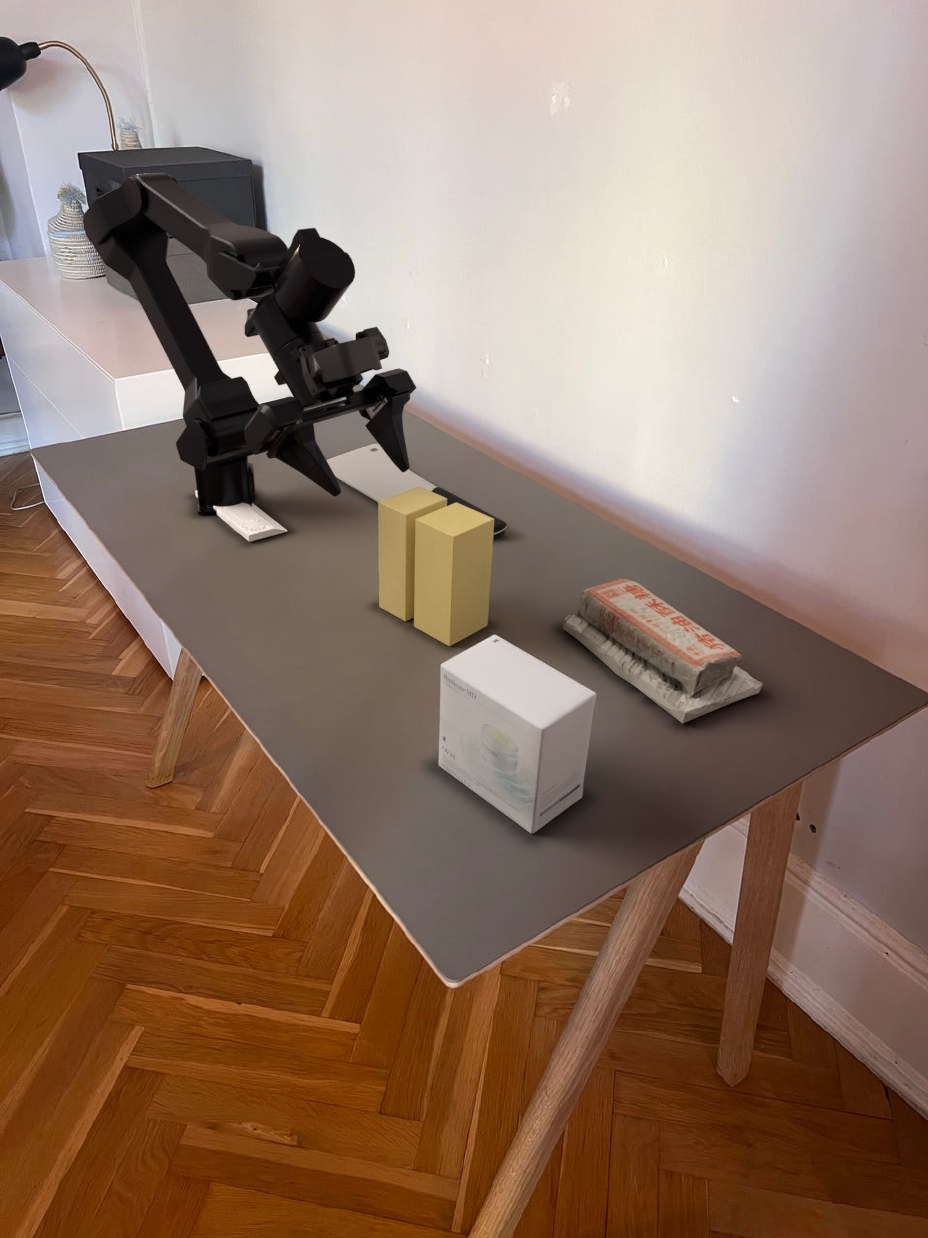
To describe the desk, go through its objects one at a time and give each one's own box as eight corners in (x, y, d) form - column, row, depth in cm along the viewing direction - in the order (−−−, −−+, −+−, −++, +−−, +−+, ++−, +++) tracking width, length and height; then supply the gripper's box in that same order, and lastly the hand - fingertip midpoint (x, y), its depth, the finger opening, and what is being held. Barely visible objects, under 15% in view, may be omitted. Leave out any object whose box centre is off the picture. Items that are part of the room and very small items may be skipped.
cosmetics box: (434, 768, 74) (437, 661, 68) (489, 734, 78) (496, 631, 72) (530, 838, 68) (542, 727, 62) (585, 797, 71) (601, 690, 66)
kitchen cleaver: (315, 458, 125) (376, 436, 130) (317, 469, 126) (377, 447, 131) (451, 546, 105) (518, 517, 109) (452, 559, 106) (518, 529, 110)
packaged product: (563, 588, 90) (639, 566, 94) (558, 629, 92) (633, 606, 97) (692, 683, 77) (773, 651, 82) (682, 728, 79) (761, 695, 84)
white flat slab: (232, 488, 118) (232, 480, 117) (287, 532, 108) (287, 524, 108) (195, 496, 115) (194, 488, 115) (248, 542, 105) (247, 534, 105)
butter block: (413, 626, 92) (415, 518, 85) (452, 607, 95) (456, 501, 89) (449, 646, 89) (453, 536, 82) (487, 625, 92) (494, 518, 86)
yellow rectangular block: (378, 607, 95) (377, 501, 88) (417, 588, 98) (419, 485, 92) (405, 622, 92) (406, 514, 86) (444, 602, 96) (447, 498, 90)
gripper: (251, 316, 80) (336, 469, 80) (404, 288, 92) (479, 421, 92) (210, 383, 89) (287, 521, 89) (355, 349, 101) (423, 472, 100)
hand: (373, 482), depth 92 cm, fingers open, 9 cm apart
